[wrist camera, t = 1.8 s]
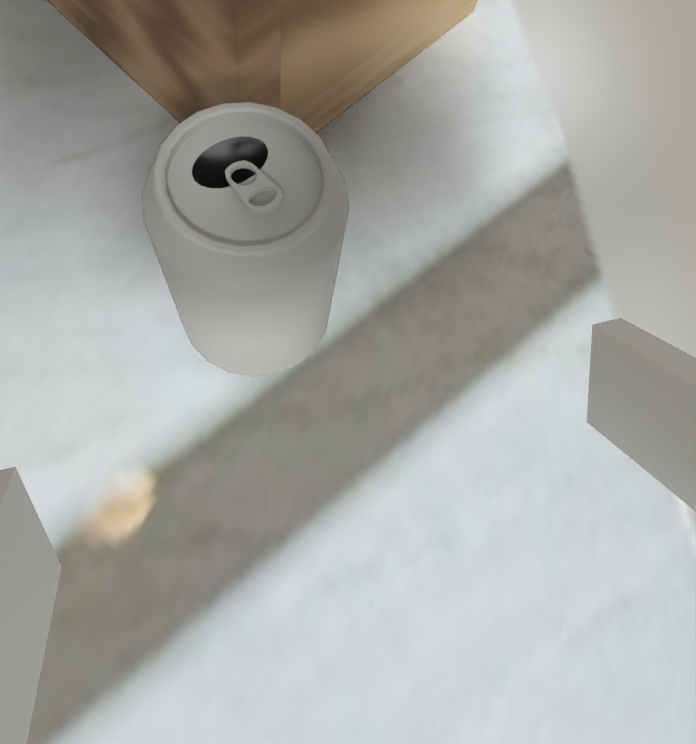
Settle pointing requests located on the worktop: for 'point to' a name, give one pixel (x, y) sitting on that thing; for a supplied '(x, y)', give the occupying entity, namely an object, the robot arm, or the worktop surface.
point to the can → (247, 234)
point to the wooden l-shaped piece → (262, 48)
